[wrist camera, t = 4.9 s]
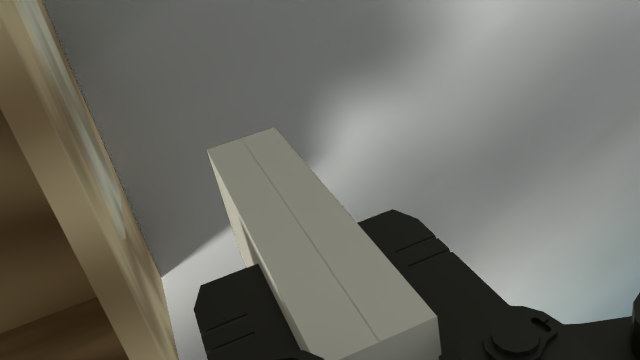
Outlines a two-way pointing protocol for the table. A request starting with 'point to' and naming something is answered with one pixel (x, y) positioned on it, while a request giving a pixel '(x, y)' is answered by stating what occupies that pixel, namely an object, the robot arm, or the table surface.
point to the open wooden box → (65, 217)
